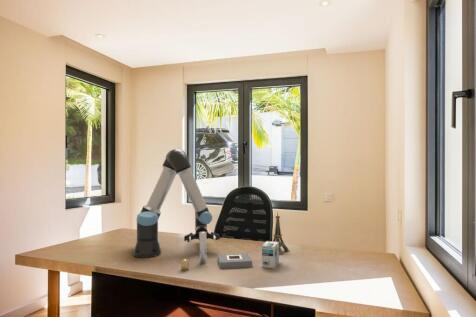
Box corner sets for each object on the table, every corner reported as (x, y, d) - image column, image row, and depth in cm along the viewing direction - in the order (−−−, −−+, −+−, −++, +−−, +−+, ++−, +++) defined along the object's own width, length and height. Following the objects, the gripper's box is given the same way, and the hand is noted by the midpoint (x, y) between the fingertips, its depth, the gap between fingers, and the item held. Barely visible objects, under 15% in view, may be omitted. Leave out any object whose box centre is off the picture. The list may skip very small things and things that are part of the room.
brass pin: (181, 271, 152) (180, 260, 152) (181, 268, 155) (181, 258, 156) (188, 270, 152) (188, 260, 152) (188, 268, 156) (188, 258, 156)
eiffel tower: (281, 255, 178) (281, 210, 178) (265, 252, 184) (265, 209, 184) (290, 251, 186) (290, 208, 187) (274, 248, 192) (274, 207, 193)
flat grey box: (220, 268, 155) (219, 262, 155) (217, 260, 169) (217, 254, 169) (252, 267, 157) (252, 260, 158) (247, 258, 171) (247, 252, 171)
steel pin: (199, 264, 162) (199, 233, 162) (199, 262, 166) (199, 231, 166) (206, 264, 163) (206, 232, 163) (206, 262, 166) (206, 231, 166)
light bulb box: (275, 268, 155) (274, 246, 155) (261, 267, 157) (261, 245, 157) (279, 262, 165) (279, 241, 165) (266, 261, 167) (266, 240, 167)
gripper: (221, 237, 197) (225, 246, 176) (181, 239, 193) (179, 248, 172) (221, 225, 197) (225, 233, 176) (180, 227, 193) (179, 235, 172)
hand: (202, 240), depth 174 cm, fingers open, 13 cm apart
